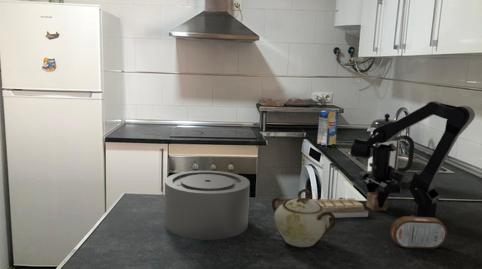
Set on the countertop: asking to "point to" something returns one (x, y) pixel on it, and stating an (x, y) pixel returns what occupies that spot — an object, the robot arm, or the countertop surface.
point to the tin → (418, 232)
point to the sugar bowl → (301, 220)
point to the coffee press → (396, 143)
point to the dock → (350, 213)
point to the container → (206, 204)
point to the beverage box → (327, 127)
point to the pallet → (340, 204)
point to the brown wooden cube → (374, 202)
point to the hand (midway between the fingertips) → (376, 205)
